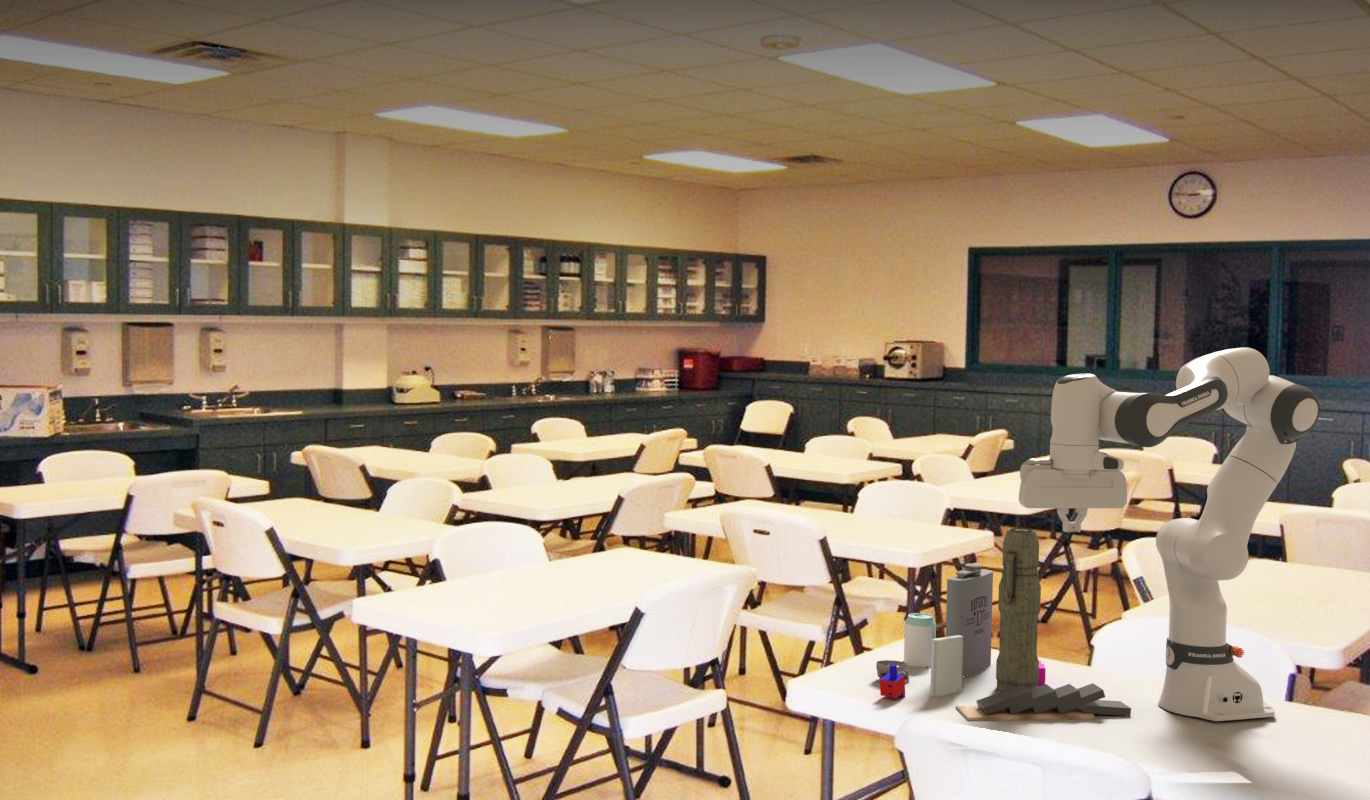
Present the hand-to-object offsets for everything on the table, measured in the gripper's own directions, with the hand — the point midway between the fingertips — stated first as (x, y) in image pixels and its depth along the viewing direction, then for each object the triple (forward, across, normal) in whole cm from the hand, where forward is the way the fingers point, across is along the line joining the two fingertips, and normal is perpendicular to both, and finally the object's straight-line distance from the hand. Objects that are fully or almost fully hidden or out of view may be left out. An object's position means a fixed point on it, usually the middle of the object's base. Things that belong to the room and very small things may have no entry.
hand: (1071, 531), depth 247 cm
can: (+39, -14, +52) cm, 67 cm away
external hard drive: (+39, -15, +28) cm, 51 cm away
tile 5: (+38, +8, +14) cm, 41 cm away
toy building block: (+40, -27, +25) cm, 54 cm away
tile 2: (+38, -7, +14) cm, 41 cm away
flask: (+39, -4, +46) cm, 61 cm away
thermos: (+39, +2, +31) cm, 50 cm away
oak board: (+39, -3, +14) cm, 42 cm away
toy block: (+40, +8, +41) cm, 58 cm away
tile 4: (+38, +3, +14) cm, 40 cm away
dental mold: (+40, -24, +36) cm, 59 cm away
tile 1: (+38, -12, +14) cm, 42 cm away
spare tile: (+38, -2, +14) cm, 40 cm away
